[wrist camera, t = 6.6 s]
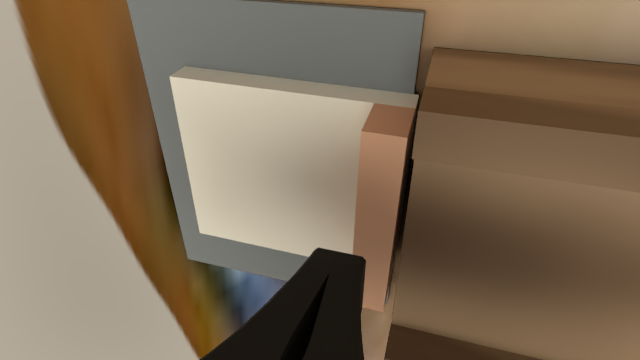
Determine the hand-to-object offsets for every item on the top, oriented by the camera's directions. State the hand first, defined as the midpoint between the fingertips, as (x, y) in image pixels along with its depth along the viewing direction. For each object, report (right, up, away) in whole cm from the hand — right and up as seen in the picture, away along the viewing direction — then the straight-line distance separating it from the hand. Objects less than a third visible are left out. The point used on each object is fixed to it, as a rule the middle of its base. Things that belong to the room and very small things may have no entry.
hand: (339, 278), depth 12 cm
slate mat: (-2, +3, +5) cm, 6 cm away
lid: (-1, +3, +4) cm, 5 cm away
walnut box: (+8, +2, +2) cm, 8 cm away
